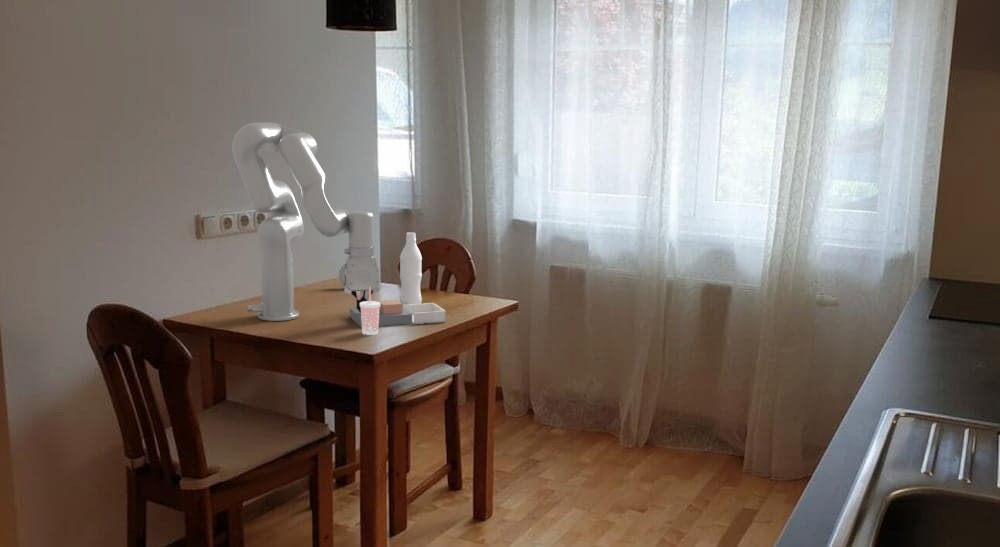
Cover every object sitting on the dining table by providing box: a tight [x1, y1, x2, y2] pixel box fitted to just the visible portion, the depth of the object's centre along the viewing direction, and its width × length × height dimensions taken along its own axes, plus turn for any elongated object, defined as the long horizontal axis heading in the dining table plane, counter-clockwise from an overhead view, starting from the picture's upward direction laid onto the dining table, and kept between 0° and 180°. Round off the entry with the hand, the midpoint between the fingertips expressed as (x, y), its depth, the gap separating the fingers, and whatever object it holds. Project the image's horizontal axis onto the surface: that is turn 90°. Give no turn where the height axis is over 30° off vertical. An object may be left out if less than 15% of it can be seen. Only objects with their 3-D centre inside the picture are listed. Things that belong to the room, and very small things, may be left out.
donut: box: [338, 263, 346, 287], centre depth 322 cm, size 10×3×10 cm, turn 95°
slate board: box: [349, 306, 413, 329], centre depth 277 cm, size 16×14×3 cm
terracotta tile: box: [377, 299, 402, 315], centre depth 276 cm, size 6×6×3 cm
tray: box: [403, 302, 447, 325], centre depth 280 cm, size 10×12×4 cm
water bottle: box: [399, 231, 423, 307], centre depth 293 cm, size 7×7×25 cm
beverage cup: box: [360, 286, 381, 336], centre depth 261 cm, size 6×6×14 cm
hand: (362, 311), depth 272 cm, fingers closed
